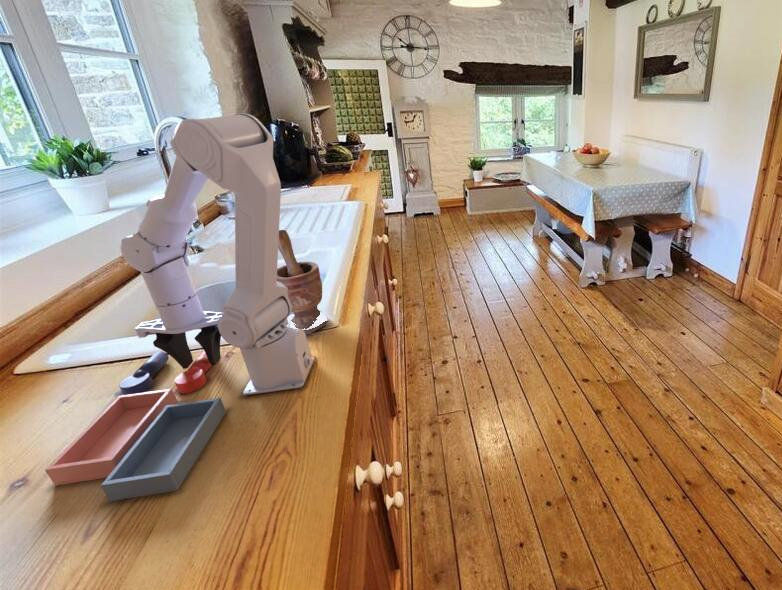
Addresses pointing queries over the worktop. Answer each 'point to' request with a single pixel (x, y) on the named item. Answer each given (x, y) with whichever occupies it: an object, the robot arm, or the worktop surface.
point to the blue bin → (165, 450)
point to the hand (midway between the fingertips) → (202, 363)
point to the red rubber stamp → (193, 375)
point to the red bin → (109, 437)
